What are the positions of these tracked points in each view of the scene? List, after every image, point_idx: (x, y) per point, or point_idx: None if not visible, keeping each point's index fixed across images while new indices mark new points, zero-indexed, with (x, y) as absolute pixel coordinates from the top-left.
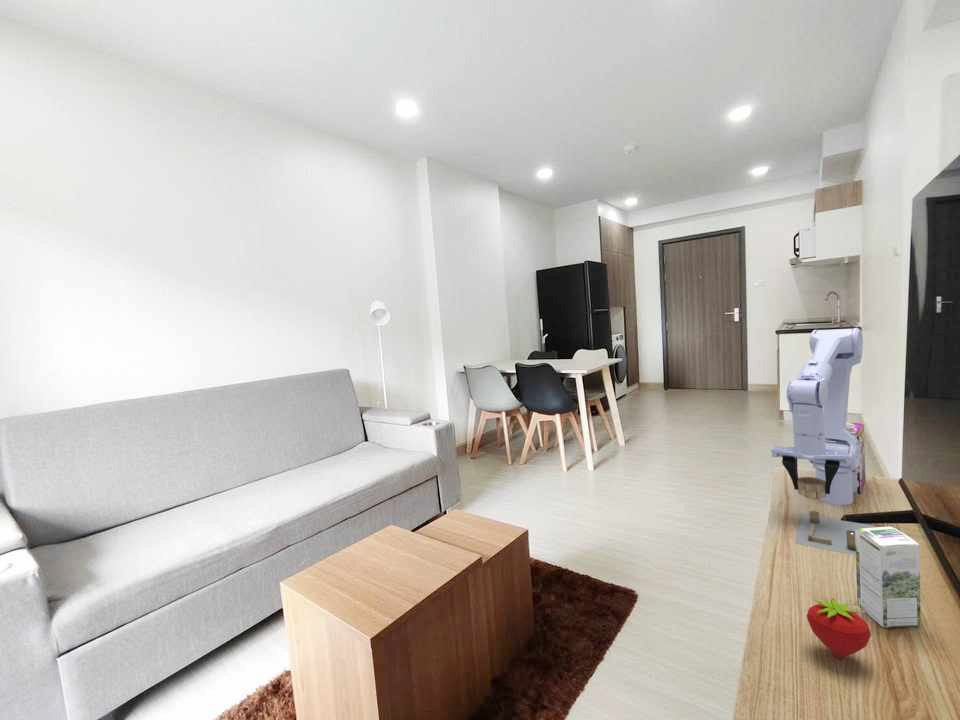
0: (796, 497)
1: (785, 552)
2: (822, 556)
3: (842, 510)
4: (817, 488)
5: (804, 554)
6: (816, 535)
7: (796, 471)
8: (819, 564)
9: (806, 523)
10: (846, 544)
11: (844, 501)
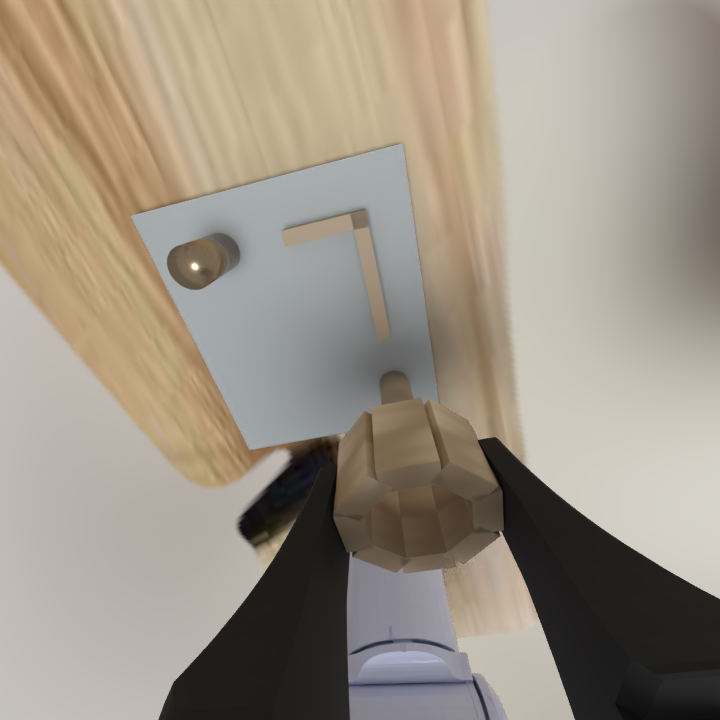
0: None
1: (420, 41)
2: (288, 128)
3: None
4: (364, 462)
5: (348, 89)
6: (355, 279)
7: (539, 577)
8: (266, 24)
9: (412, 355)
10: (251, 274)
11: None
